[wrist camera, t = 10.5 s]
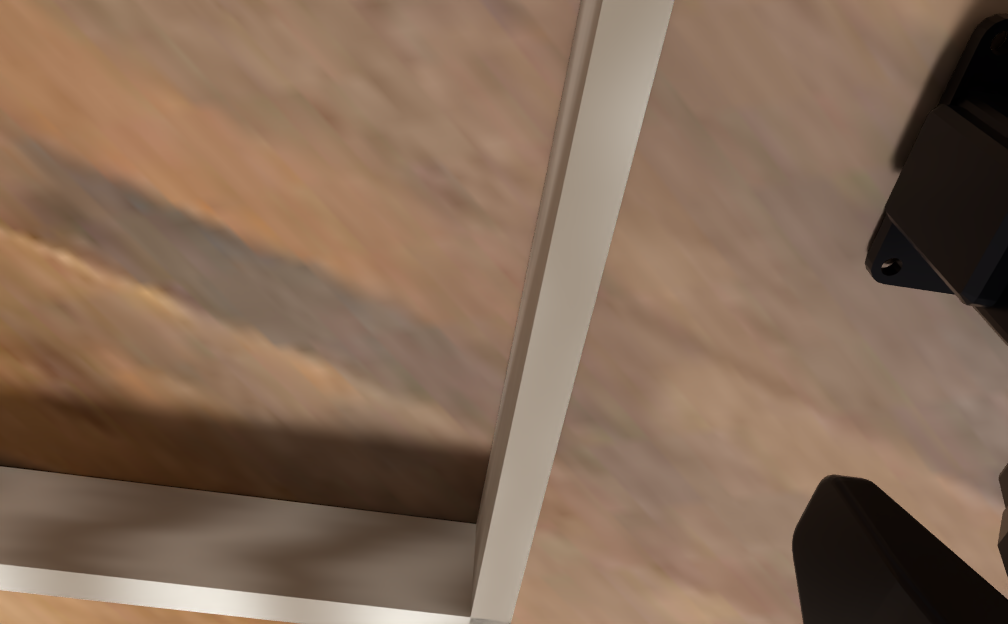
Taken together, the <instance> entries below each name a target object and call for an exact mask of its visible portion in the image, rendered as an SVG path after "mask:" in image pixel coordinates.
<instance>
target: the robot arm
mask: <svg viewBox="0 0 1008 624" xmlns="http://www.w3.org/2000/svg"><path fill="white" fill-rule="evenodd" d="M1002 31H1006V33H1007V35H1006V39H1005V41H1004V42H1003V44H1002V45H1001V46H1000V47H998V48H996V49H995V50H991V48H990V47H991V42H992V40H993V39H994V37H995V36H996V35H997V34H999V33H1001V32H1002ZM885 211H886V213H887V214H886V216H885V218H884V220H883V223H882V225H881V227H880V229H879V231H878V233H877V235H876V237H875V239H874V242H873V244H872V246H871V248H870V250H869V252H868V254H867V257H866V261H865V265H866V269H867V270H868V272H869V273H870V275H871V276H872V277H873V278H874V279H875V280H876V281H877V282H879V283H882V284H887V285H894V286H901V287H907V288H914V289H921V290H928V291H934V292H941V293H948V294H955V295H956V296H957V297H958V298H959V299H960V301H961V302H962V303H964V304H966V305H969V306H973V307H974V309H975V310H976V311H977V312H978V313H979V314H980V315H981V316H982V318H983V319H984V320H985V321H986V322H987V323H988V324H989V326H990V327H991V328H992V329H993V330H994V331H995V332H996V333H997V335H998V336H999V337H1000V338H1001V339H1002V340H1003V341H1004V342H1005V344H1006V345H1007V346H1008V14H996V15H993V16H991V17H988V18H986V19H985V20H984V21H983V22H981V23H980V24H979V25H978V26H977V27H976V29H975V30H974V32H973V33H972V35H971V37H970V39H969V41H968V43H967V45H966V47H965V50H964V52H963V54H962V56H961V58H960V60H959V62H958V64H957V66H956V69H955V71H954V73H953V75H952V77H951V79H950V81H949V83H948V85H947V88H946V90H945V92H944V94H943V96H942V98H941V100H940V102H939V104H938V106H937V107H936V108H935V109H933V110H932V111H931V112H929V114H928V116H927V118H926V120H925V122H924V124H923V126H922V129H921V131H920V133H919V135H918V137H917V139H916V141H915V144H914V146H913V148H912V150H911V152H910V154H909V156H908V158H907V161H906V163H905V165H904V167H903V169H902V171H901V173H900V175H899V178H898V180H897V182H896V184H895V186H894V188H893V190H892V192H891V195H890V197H889V199H888V201H887V203H886V205H885ZM890 258H896V260H895V261H894V263H893V264H892V265H890V266H888V267H885V268H881V267H882V265H883V263H884V262H885V261H887V260H889V259H890ZM999 482H1000V486H1001V491H1002V495H1003V499H1004V503H1005V508H1006V509H1005V510H1004V512H1003V515H1002V521H1001V527H1000V533H999V539H998V548H999V551H1000V554H1001V557H1002V561H1003V564H1004V567H1005V570H1006V573H1007V576H1008V464H1007V465H1006V466H1005V468H1004V469H1003V471H1002V472H1001V473H1000V475H999ZM792 552H793V560H794V566H795V573H796V579H797V586H798V592H799V599H800V605H801V612H802V618H803V624H1008V599H1007V598H1005V597H1004V596H1003V595H1002V594H1001V593H1000V592H999V591H997V590H996V589H995V588H994V587H993V586H992V585H990V584H989V583H988V582H987V581H986V580H985V579H984V578H982V577H981V576H980V575H979V574H978V573H977V572H976V571H974V570H973V569H972V568H971V567H970V566H969V565H967V564H966V563H965V562H964V561H963V560H962V559H961V558H959V557H958V556H957V555H956V554H955V553H954V552H953V551H951V550H950V549H949V548H948V547H947V546H946V545H944V544H943V543H942V542H941V541H940V540H939V539H938V538H936V537H935V536H934V535H933V534H932V533H931V532H930V531H928V530H927V529H926V528H925V527H924V526H923V525H921V524H920V523H919V522H918V521H917V520H916V519H915V518H913V517H912V516H911V515H910V514H909V513H908V512H907V511H905V510H904V509H903V508H902V507H901V506H900V505H898V504H897V503H896V502H895V501H894V500H893V499H892V498H890V497H889V496H888V495H887V494H886V493H885V492H884V491H882V490H881V489H880V488H879V487H878V486H877V485H875V484H874V483H873V482H871V481H869V480H867V479H863V478H857V477H849V476H841V475H829V476H826V477H825V478H824V479H822V480H821V482H820V483H819V485H818V486H817V488H816V490H815V492H814V494H813V496H812V498H811V499H810V501H809V503H808V505H807V507H806V509H805V511H804V512H803V514H802V516H801V518H800V520H799V522H798V524H797V526H796V528H795V531H794V534H793V541H792Z"/></svg>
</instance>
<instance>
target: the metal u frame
mask: <svg viewBox="0 0 1008 624" xmlns="http://www.w3.org/2000/svg"><path fill="white" fill-rule="evenodd" d="M673 4H674V0H581V3H580V8H579V13H578V18H577V23H576V28H575V33H574V38H573V43H572V48H571V53H570V58H569V63H568V68H567V73H566V78H565V83H564V88H563V93H562V98H561V103H560V108H559V113H558V118H557V123H556V128H555V133H554V138H553V143H552V148H551V153H550V158H549V163H548V168H547V173H546V178H545V183H544V188H543V193H542V198H541V203H540V208H539V213H538V218H537V223H536V228H535V233H534V238H533V243H532V248H531V253H530V258H529V263H528V268H527V273H526V278H525V283H524V288H523V293H522V298H521V303H520V308H519V313H518V318H517V323H516V328H515V333H514V338H513V343H512V348H511V353H510V358H509V363H508V368H507V373H506V378H505V383H504V388H503V393H502V398H501V403H500V408H499V413H498V418H497V423H496V428H495V433H494V438H493V443H492V448H491V453H490V458H489V463H488V468H487V473H486V478H485V483H484V488H483V493H482V498H481V503H480V508H479V513H478V518H477V523H476V524H471V523H463V522H455V521H447V520H439V519H430V518H422V517H414V516H406V515H397V514H389V513H381V512H373V511H365V510H356V509H348V508H340V507H332V506H323V505H315V504H307V503H299V502H290V501H282V500H274V499H266V498H258V497H249V496H241V495H233V494H225V493H216V492H208V491H200V490H192V489H184V488H175V487H167V486H159V485H151V484H142V483H134V482H126V481H118V480H109V479H101V478H93V477H85V476H77V475H68V474H60V473H52V472H44V471H35V470H27V469H19V468H11V467H3V466H0V590H4V591H13V592H22V593H31V594H40V595H49V596H58V597H67V598H76V599H85V600H94V601H103V602H112V603H121V604H130V605H139V606H148V607H157V608H166V609H175V610H184V611H193V612H202V613H211V614H220V615H229V616H238V617H247V618H256V619H265V620H274V621H283V622H292V623H301V624H511V620H512V617H513V613H514V609H515V605H516V601H517V597H518V594H519V590H520V586H521V582H522V578H523V575H524V571H525V567H526V563H527V559H528V556H529V552H530V548H531V544H532V540H533V537H534V533H535V529H536V525H537V521H538V518H539V514H540V510H541V506H542V502H543V499H544V495H545V491H546V487H547V483H548V480H549V476H550V472H551V468H552V464H553V461H554V457H555V453H556V449H557V445H558V441H559V438H560V434H561V430H562V426H563V422H564V419H565V415H566V411H567V407H568V403H569V400H570V396H571V392H572V388H573V384H574V381H575V377H576V373H577V369H578V365H579V362H580V358H581V354H582V350H583V346H584V343H585V339H586V335H587V331H588V327H589V324H590V320H591V316H592V312H593V308H594V305H595V301H596V297H597V293H598V289H599V286H600V282H601V278H602V274H603V270H604V266H605V263H606V259H607V255H608V251H609V247H610V244H611V240H612V236H613V232H614V228H615V225H616V221H617V217H618V213H619V209H620V206H621V202H622V198H623V194H624V190H625V187H626V183H627V179H628V175H629V171H630V168H631V164H632V160H633V156H634V152H635V149H636V145H637V141H638V137H639V133H640V130H641V126H642V122H643V118H644V114H645V110H646V107H647V103H648V99H649V95H650V91H651V88H652V84H653V80H654V76H655V72H656V69H657V65H658V61H659V57H660V53H661V50H662V46H663V42H664V38H665V34H666V31H667V27H668V23H669V19H670V15H671V12H672V8H673Z"/></svg>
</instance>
